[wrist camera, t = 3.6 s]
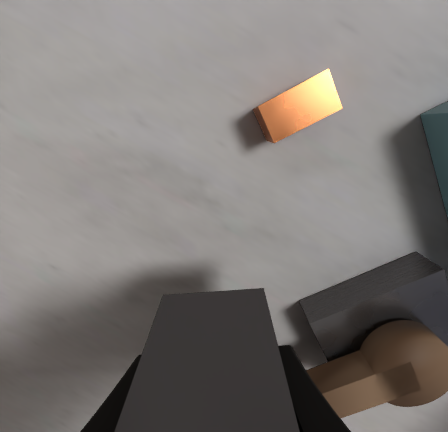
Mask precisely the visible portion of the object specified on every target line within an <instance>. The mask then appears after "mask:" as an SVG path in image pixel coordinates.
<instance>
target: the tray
mask: <svg viewBox="0 0 448 432" xmlns="http://www.w3.org/2000/svg"><path fill="white" fill-rule="evenodd" d="M420 115H421V119H422V123H423V127H424V130H425V134H426V138H427V142H428V146H429V149H430V153H431V157H432V161H433V165H434V168H435V172H436V176H437V180H438V184H439V187H440V191H441V195H442V199H443V203H444V206H445V210H446V214H447V218H448V101H447V102H445V103H443V104H441V105H439V106H437V107H435V108H433V109H431V110H429V111H427V112H425V113H422V114H420Z"/></svg>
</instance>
